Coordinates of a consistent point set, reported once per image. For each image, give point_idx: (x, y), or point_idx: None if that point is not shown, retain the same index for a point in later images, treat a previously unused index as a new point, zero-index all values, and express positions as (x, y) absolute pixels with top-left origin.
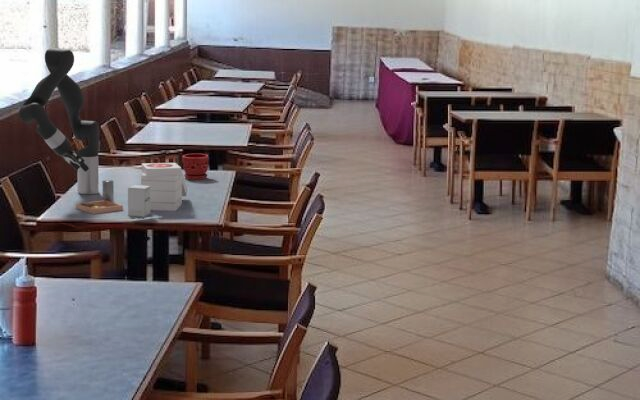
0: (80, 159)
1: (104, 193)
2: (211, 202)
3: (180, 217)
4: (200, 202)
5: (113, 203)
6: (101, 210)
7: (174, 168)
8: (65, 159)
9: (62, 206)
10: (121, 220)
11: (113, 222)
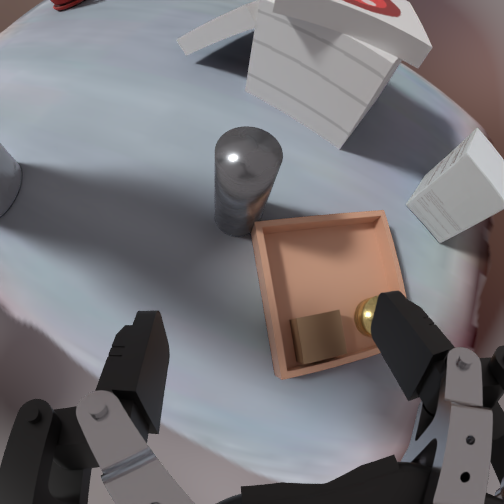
0: (477, 396)
1: (255, 210)
2: None
3: (444, 138)
4: None
5: (332, 220)
6: None
7: (413, 9)
8: (84, 497)
9: None
10: (461, 276)
11: (473, 307)
